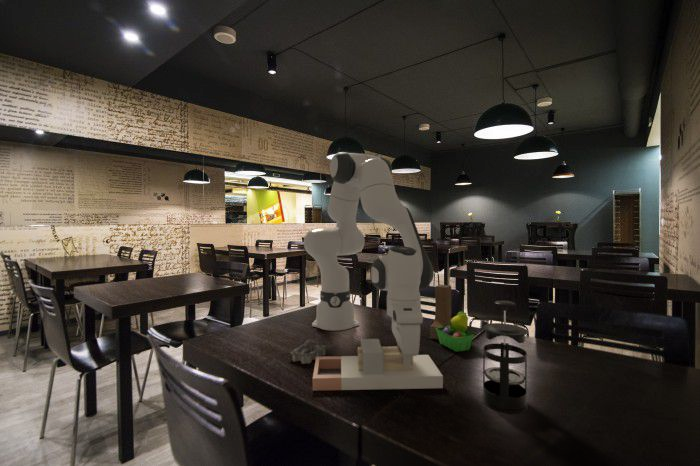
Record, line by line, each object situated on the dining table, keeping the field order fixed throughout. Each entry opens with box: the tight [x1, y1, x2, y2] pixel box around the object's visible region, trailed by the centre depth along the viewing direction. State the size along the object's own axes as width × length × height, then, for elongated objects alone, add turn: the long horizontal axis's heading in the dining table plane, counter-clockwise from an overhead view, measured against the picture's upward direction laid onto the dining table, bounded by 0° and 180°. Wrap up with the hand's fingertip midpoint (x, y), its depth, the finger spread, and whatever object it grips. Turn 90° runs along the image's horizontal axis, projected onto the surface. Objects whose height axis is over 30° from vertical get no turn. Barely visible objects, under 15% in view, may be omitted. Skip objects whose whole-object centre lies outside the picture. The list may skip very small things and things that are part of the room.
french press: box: [481, 300, 529, 415], centre depth 79 cm, size 12×9×23 cm
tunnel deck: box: [312, 338, 444, 392], centre depth 92 cm, size 14×32×8 cm, turn 92°
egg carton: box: [289, 338, 328, 365], centre depth 106 cm, size 11×8×4 cm
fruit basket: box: [436, 311, 475, 353], centre depth 115 cm, size 11×9×11 cm
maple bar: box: [357, 345, 413, 371], centre depth 92 cm, size 6×14×4 cm, turn 92°
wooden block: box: [429, 284, 452, 341], centre depth 125 cm, size 9×4×18 cm, turn 142°
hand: (403, 360), depth 92 cm, fingers closed on maple bar, 6 cm apart
